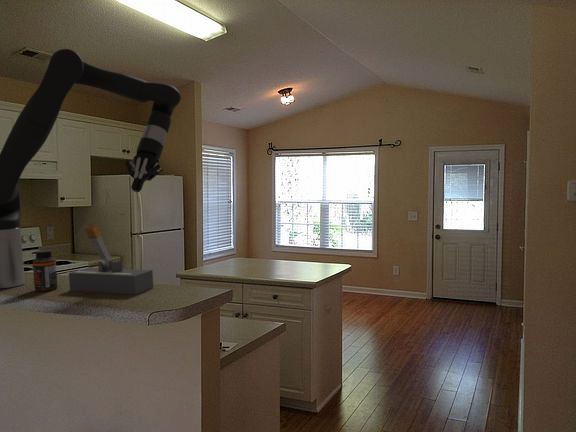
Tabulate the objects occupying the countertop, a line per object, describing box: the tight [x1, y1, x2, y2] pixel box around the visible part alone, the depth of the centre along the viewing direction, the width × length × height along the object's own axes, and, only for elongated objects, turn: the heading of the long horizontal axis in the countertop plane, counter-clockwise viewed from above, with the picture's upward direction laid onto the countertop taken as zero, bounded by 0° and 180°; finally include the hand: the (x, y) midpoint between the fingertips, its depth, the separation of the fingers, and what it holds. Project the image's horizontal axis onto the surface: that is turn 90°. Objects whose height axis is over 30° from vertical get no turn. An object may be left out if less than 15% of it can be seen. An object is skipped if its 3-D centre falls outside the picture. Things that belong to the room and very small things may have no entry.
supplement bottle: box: [32, 249, 58, 293], centre depth 138 cm, size 6×6×11 cm
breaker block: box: [68, 259, 154, 295], centre depth 137 cm, size 22×8×8 cm, turn 71°
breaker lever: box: [83, 224, 114, 271], centre depth 133 cm, size 3×2×15 cm
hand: (135, 190), depth 151 cm, fingers closed
